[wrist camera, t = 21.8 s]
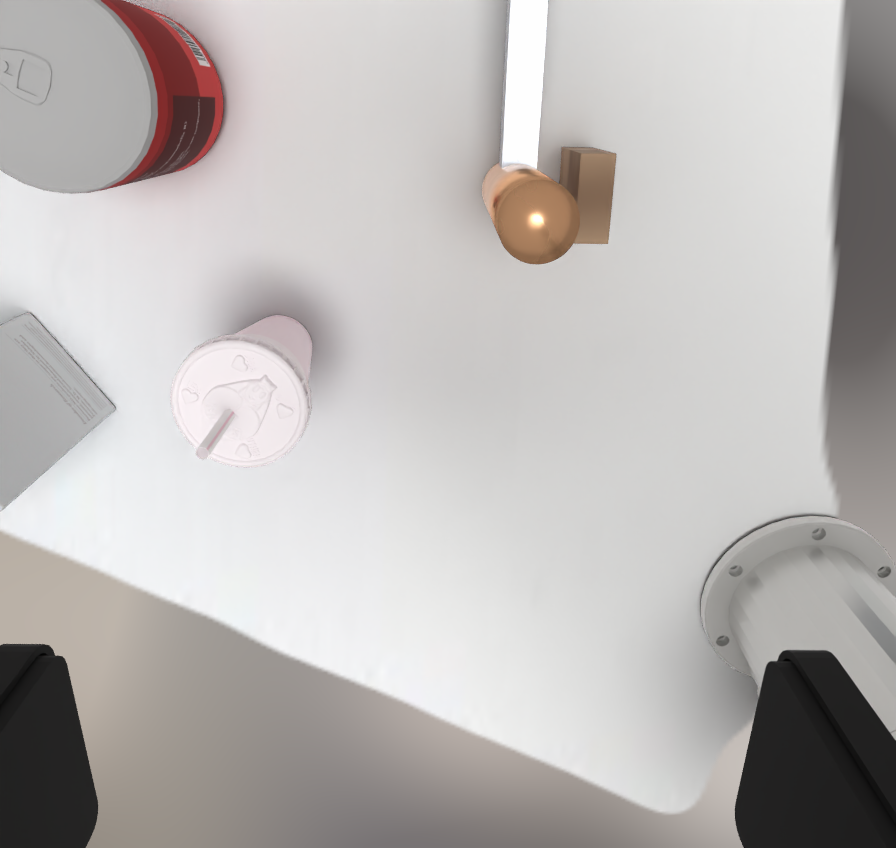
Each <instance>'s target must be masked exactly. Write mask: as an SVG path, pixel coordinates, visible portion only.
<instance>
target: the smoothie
mask: <svg viewBox="0 0 896 848" xmlns="http://www.w3.org/2000/svg"><path fill="white" fill-rule="evenodd" d="M312 350H313V347H312V341H311V337H310V335H309V333H308V331H307V330H306V329H305V327H304V326H303V325H302V324H300V323H299V322H298V321H296V320H295V319H293V318H290V317H288V316H283V315H273V316H268V317H266V318H264V319H262V320H260V321H258V322H256V323H254V324H252V325H250V326H248V327H247V328H245V329H243V330H241V331H239V332H237V333H235V334H233V335H224V336H220V337H217V338H213V339H210V340H208V341H206V342H205V343H203V344H201V345H200V346H198V347H196V348H195V349H194V350H193V351H192V352H191V353H190V354H189V356H188V357H187V358H186V359H185V360H184V361H183V363H182V364H181V366H180V367H179V369H178V371H177V373H176V374H175V377H174V380H173V383H172V387H171V408H172V413H173V416H174V419H175V422H176V424H177V426H178V428H179V430H180V431H181V433H182V434H183V436H184V437H185V438H186V440H187V441H188V442H189V443H190V444H191V445H192V446H193V447H194V448H195V449H196V456H197V457H198V458H199V459H207V458H210V459H212V460H214V461H216V462H219V463H222V464H225V465H229V466H234V467H244V468H247V467H258V466H263V465H266V464H269V463H272V462H274V461H276V460H278V459H280V458H282V457H283V456H284V455H286V454H287V453H288V452H289V451H290V450H291V449H292V448H293V447H294V446H295V445H296V444H297V442H298V441H299V439H300V438H301V437H302V435H303V433H304V431H305V429H306V427H307V425H308V423H309V419H310V414H311V409H312V403H311V392H310V388H309V386H308V381H309V374H310V366H311V358H312Z"/></svg>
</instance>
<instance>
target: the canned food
mask: <svg viewBox="0 0 896 848" xmlns="http://www.w3.org/2000/svg"><path fill="white" fill-rule="evenodd" d="M222 117H223V95H222V89H221V84H220V80H219V77H218V75H217V72H216V69H215V67H214V65H213V63H212V61H211V59H210V58H209V56H208V54H207V52H206V51H205V49H204V48H203V47H202V46H201V45H200V43H199V42H198V41H197V40H196V39H195V37H194V36H193V35H192V34H190V33H189V32H188V31H187V30H186V29H185V28H183V27H182V26H181V25H180V24H178V23H176V22H175V21H173V20H171V19H170V18H168V17H166V16H165V15H162V14H159V13H156V12H154V11H151V10H148V9H146V8H143V7H140V6H137V5H134V4H131V3H128V2H126V1H123V0H0V170H1V171H3V172H4V173H5V174H7V175H9V176H11V177H13V178H15V179H17V180H18V181H20V182H22V183H24V184H27V185H30V186H33V187H36V188H39V189H42V190H46V191H52V192H59V193H89V192H94V191H98V190H105V189H109V188H113V187H117V186H121V185H125V184H129V183H133V182H137V181H141V180H145V179H149V178H153V177H157V176H161V175H165V174H169V173H173V172H177V171H180V170H183V169H185V168H187V167H189V166H191V165H193V164H195V163H196V162H197V161H198V160H200V159H201V158H202V157H203V156H204V155H205V154H206V153H207V152H208V150H209V149H210V148H211V146H212V145H213V144H214V142H215V140H216V137H217V135H218V133H219V130H220V127H221V122H222Z"/></svg>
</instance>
